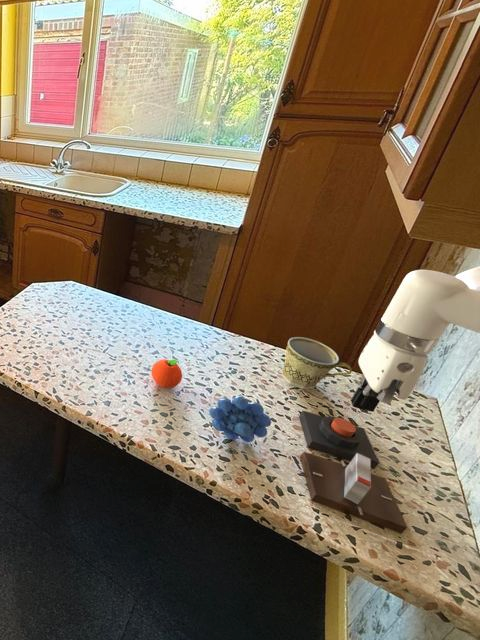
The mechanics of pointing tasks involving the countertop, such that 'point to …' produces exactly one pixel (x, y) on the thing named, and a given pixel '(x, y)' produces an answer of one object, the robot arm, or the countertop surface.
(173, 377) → the clementine
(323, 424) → the button box
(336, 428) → the button
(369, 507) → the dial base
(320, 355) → the ceramic cup
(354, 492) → the grey block
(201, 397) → the countertop surface
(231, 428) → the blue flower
